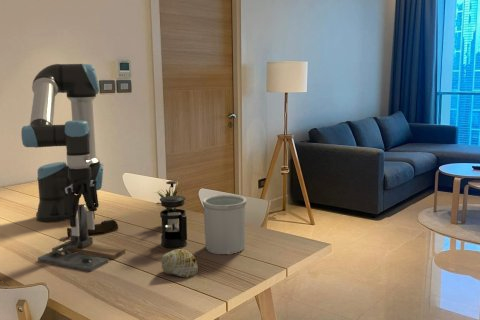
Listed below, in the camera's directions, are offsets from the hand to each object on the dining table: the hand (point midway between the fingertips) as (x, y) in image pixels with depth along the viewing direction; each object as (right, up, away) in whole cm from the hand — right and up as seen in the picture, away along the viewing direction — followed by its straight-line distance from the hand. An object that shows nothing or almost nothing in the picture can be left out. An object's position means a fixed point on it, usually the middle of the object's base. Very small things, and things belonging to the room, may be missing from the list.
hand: (83, 232), depth 167 cm
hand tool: (-3, -4, +20) cm, 20 cm away
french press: (+31, -6, +6) cm, 32 cm away
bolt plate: (0, -8, -10) cm, 13 cm away
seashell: (+35, -10, -19) cm, 41 cm away
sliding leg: (-2, -5, -3) cm, 6 cm away
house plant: (+25, -2, +28) cm, 38 cm away
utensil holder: (+49, -6, +2) cm, 49 cm away
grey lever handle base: (+2, -7, -4) cm, 9 cm away
